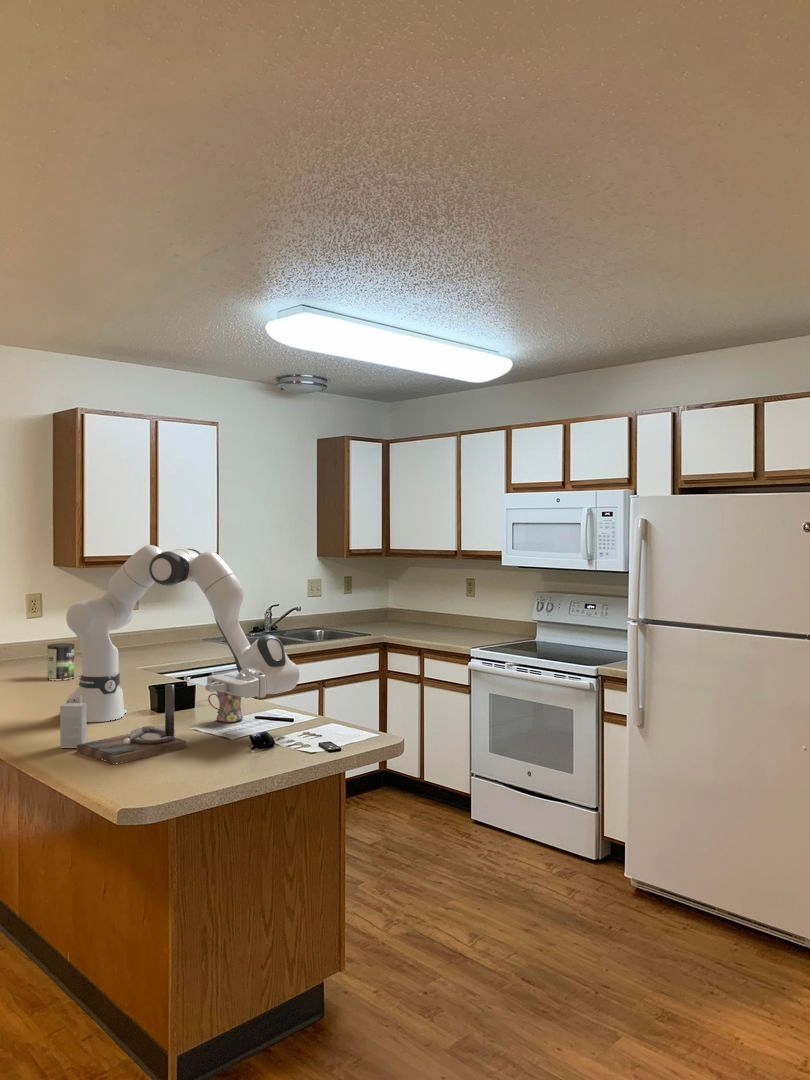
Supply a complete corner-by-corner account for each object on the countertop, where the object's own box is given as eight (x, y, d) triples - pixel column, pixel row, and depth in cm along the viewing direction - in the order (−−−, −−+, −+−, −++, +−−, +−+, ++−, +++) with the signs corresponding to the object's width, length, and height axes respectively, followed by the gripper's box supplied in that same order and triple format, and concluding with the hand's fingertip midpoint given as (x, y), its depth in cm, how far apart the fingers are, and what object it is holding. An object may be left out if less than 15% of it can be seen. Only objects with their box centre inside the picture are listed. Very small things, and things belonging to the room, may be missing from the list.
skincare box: (87, 745, 228) (87, 702, 228) (81, 749, 224) (81, 706, 224) (65, 745, 228) (65, 702, 228) (59, 749, 224) (59, 706, 224)
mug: (237, 715, 266) (237, 683, 266) (249, 721, 259) (249, 688, 258) (202, 720, 259) (202, 687, 259) (213, 726, 252) (213, 692, 252)
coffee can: (78, 676, 335) (78, 643, 335) (67, 681, 325) (68, 646, 325) (54, 676, 335) (54, 642, 335) (42, 681, 325) (42, 646, 325)
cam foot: (109, 750, 214) (109, 690, 214) (142, 732, 234) (142, 677, 234) (158, 752, 213) (158, 692, 212) (187, 734, 232) (187, 678, 232)
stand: (76, 751, 221) (76, 743, 221) (147, 736, 238) (147, 728, 238) (115, 764, 209) (115, 755, 209) (185, 747, 226) (186, 739, 226)
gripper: (232, 667, 247) (191, 672, 238) (268, 676, 231) (224, 681, 222) (232, 688, 247) (191, 694, 238) (268, 697, 231) (225, 704, 222)
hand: (207, 688), depth 230 cm, fingers closed
